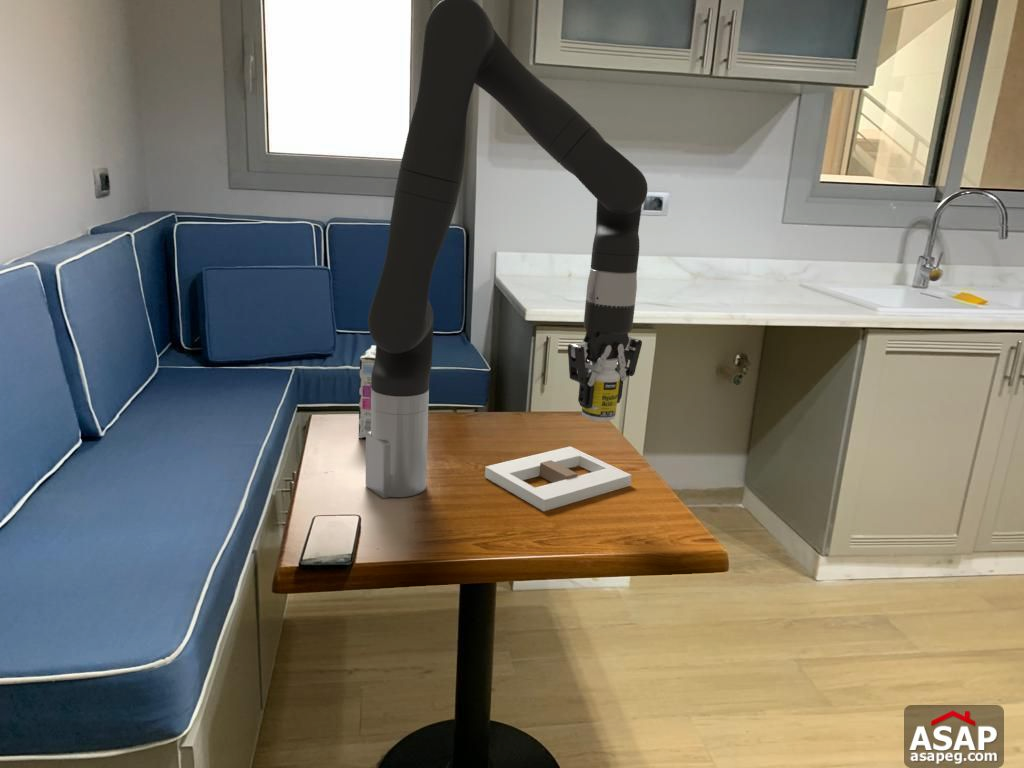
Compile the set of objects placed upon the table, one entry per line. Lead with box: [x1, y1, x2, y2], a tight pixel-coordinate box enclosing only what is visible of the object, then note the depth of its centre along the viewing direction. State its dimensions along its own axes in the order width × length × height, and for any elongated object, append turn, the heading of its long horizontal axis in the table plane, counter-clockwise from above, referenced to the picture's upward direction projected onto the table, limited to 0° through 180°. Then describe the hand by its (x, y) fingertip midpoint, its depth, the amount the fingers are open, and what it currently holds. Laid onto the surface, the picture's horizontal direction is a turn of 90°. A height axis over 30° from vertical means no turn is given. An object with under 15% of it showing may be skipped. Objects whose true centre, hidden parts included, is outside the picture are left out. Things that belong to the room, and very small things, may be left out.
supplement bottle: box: [581, 358, 620, 422], centre depth 123 cm, size 5×5×10 cm
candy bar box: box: [358, 344, 376, 439], centre depth 153 cm, size 11×5×16 cm, turn 178°
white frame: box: [484, 445, 632, 512], centre depth 136 cm, size 20×16×2 cm
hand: (599, 404), depth 123 cm, fingers closed on supplement bottle, 5 cm apart
